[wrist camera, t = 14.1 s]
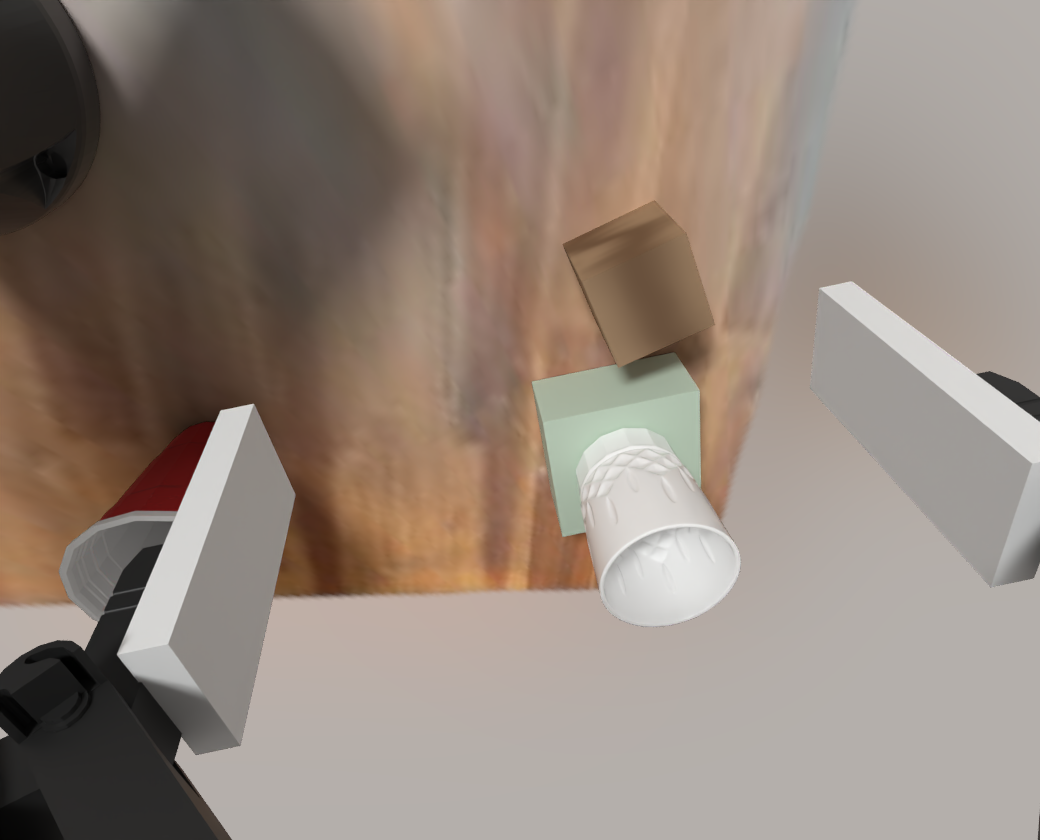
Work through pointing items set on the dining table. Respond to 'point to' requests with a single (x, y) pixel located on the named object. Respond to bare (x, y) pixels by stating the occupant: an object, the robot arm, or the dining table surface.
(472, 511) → the dining table surface
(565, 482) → the base block
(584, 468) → the white cup
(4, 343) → the dining table surface
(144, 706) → the robot arm
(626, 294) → the walnut cube
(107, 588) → the plastic cup
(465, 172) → the dining table surface
